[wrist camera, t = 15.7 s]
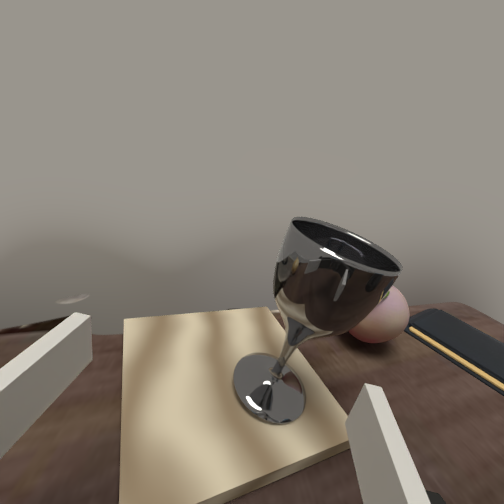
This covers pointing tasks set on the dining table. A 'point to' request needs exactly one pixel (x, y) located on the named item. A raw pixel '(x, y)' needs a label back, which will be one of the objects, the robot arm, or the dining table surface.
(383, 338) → the decorative fruit
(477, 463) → the dining table surface
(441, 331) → the wallet
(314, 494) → the dining table surface
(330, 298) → the wine glass
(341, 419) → the board
